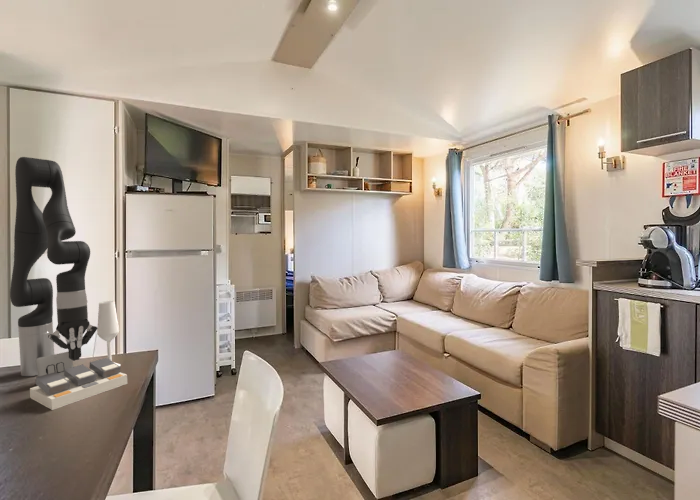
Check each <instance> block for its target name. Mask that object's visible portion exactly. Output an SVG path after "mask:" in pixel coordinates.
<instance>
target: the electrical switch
mask: <svg viewBox="0 0 700 500" xmlns="http://www.w3.org/2000/svg"><path fill="white" fill-rule="evenodd" d="M73 362H74V361H73V360H71V359H69V352H68V351H64V352H60V353H54V355H50V356H45V357H41V358H37V359H36V365H37V372H38V375H37V377H39V376H43V375H46V374H50V373H54V372H57V373H59V374H60V375H61V376H63V377H64V378H66V377H65V376H64V369H68V368H71V367H74V363H73Z"/></svg>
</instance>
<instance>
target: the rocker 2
mask: <svg viewBox="0 0 700 500" xmlns="http://www.w3.org/2000/svg"><path fill="white" fill-rule="evenodd" d="M114 362H115V361H113V360H112V361H111V360H109V359H108V357H104V358H100V359H97V360H96V359H95V360H93V361H90V362H89V366H88V368H89V369H90V370H93V371H94V372H96V373H97V374H98V375H100V376H101V377H103V378H105V377H108V376H111V375H114V374H117V373H120V372H121V366H118V365H117V364H115V363H116V362H115V363H114Z"/></svg>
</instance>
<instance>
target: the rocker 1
mask: <svg viewBox="0 0 700 500" xmlns="http://www.w3.org/2000/svg"><path fill="white" fill-rule="evenodd" d="M35 385H36V386H39V387H40V388H41V389H42V390H43V391H44V392H46V393H47V394H48V395H51V394H55V393H58V392H61V391H64V390H67V389H70V382H69V381H68V380H66V379H65V378H64V377H63V376H61V375H60V374H59V373H57V372H54V373H50V374H46V375H43V376H39V377H38V376H37V377H35Z"/></svg>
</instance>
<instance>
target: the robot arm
mask: <svg viewBox="0 0 700 500" xmlns="http://www.w3.org/2000/svg"><path fill="white" fill-rule="evenodd" d="M14 175H15V192H16V193H15V196H16V201H15V202H16V205H15V206H16V207H15V208H16V211H15V222H14V223H15V225H14V232H13V233H14V237H13V238H14V239H13V240H14V241H13V243H14V245H13V247H14V248H13V249H14V250H13V265H12V266H13V267H12V274H11V280H10V289H9V299H10V302H11V305H13V306H14V307H17V308H21V307H22V308H23V307H30V306H36V308H35V309H33V310H32V311H31V312H28V313H26V314H24V315H22V316H20V317H19V318H18V319H17V328H18V343H19V344H18V345H19V361H20V376H22V377H34V376H38V372H37V365H36V359H37V358H41V357H45V356H50V355H55V345H57V346H58V347H60V348H61V349H63V350H65V349H66V350H67V352H69V359H71V360H72V361H73V362H75V361H78V360H81V359H80V358H81V357H82V347H83V346H84V345H88V343H89V341H91V338H93V336H94V334H95V333H97V328H98V326H95V325H92V324H90V321H89V318H88V317H89V316H88V314H89V312H88V298H87V296H88V295H87V292H86V280H85V278H86V271H87V267H88V264H89V260H90V257H91V249H90V246H89V244H87V243H86V241H83V240H73V241H71V240H70V241H69V239H71V238H73V237H74V236H75V235H76V227H75V224H74V221H73V219H72V216H71V214H70V211H69V206H68V200H67V194H66V187H65V183H64V176H63V171H62V168H61V166H60V165H59V163H57V162H56V161H54V160H50V159H44V158H36V157H28V156H20V157H18V159H17V161H16V164H15V174H14ZM32 187H34V188H35V187H36V188H47V189H50V190H51V194H50V198H49V199H48V200H47V203H46V204H45V206H44V208H43V210H41V209H40V207H39V206H38V205H37V202H35V199H34V196H33V191H32V190H33V189H32ZM67 240H68V241H67ZM45 252H46V256H47V259H48V260H49V261H50V262H51V263H52V264H53V265H59V266H60V265H70V264H71V265H73V266H72V268H71V269H69V270H66V271H62V272H59V273H58V274H56V278H55V281H56V283H55V284H56V317H57V318H56V319H57V326H56V328H55V329H56V330H55V331H54V326H53V325H54V324H53V316H54V310H53V309H54V306H53V304H54V303H53V301H54V289H53V287H54V286H53V283H52V282H51V280H50V279H49V278H46V277H41V278H39V277H38V278H29V279H28V277H29V274H30V271H31V269H32V268H33V266H34V265H35V263H36V262H37V261H38V260H39V259H40V258H41V257H42V256H43V255H44V253H45ZM61 336H62V337H63V338H64V339H65V342H66V343H65V342H64V341H63V340H62V339H61Z"/></svg>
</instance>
